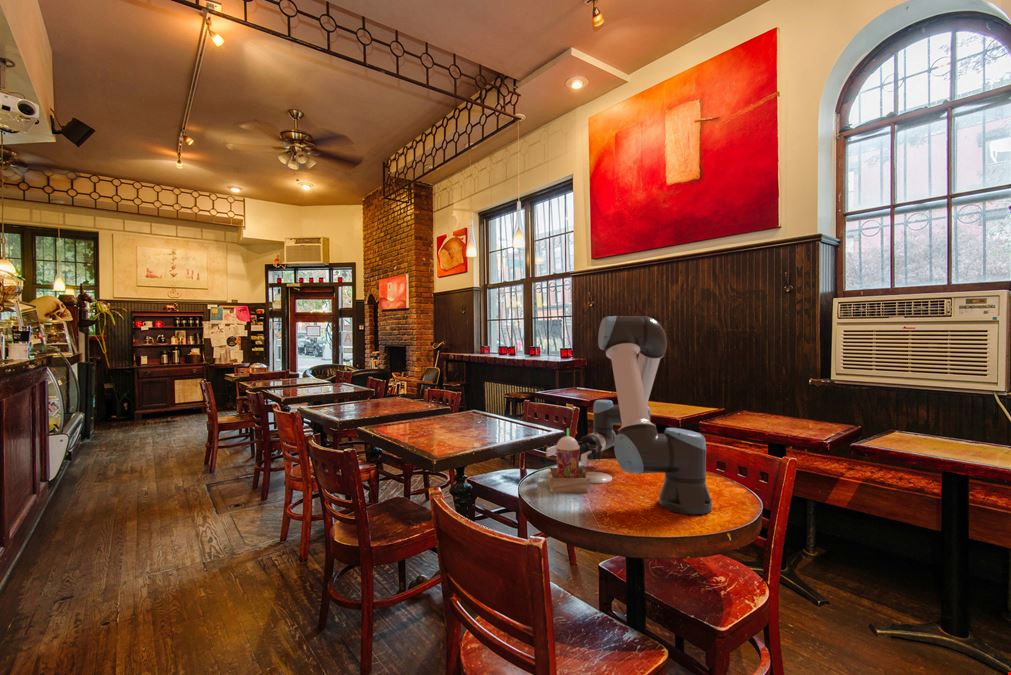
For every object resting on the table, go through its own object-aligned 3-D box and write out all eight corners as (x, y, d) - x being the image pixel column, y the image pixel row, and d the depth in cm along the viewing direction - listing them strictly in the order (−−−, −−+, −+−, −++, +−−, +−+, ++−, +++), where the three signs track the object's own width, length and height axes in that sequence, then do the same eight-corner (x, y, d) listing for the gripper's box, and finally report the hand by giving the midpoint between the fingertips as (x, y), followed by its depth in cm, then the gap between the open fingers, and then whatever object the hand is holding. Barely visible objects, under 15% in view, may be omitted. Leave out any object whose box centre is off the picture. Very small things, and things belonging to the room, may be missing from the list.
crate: (589, 492, 154) (589, 478, 154) (550, 491, 155) (550, 478, 155) (583, 480, 167) (583, 467, 167) (547, 479, 168) (547, 467, 168)
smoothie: (578, 482, 165) (578, 426, 165) (581, 489, 157) (581, 431, 157) (554, 482, 165) (554, 426, 165) (556, 489, 157) (556, 430, 157)
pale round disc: (615, 483, 163) (615, 481, 163) (581, 483, 164) (581, 481, 164) (608, 473, 175) (608, 471, 175) (576, 473, 176) (576, 471, 176)
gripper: (623, 459, 169) (597, 473, 152) (563, 449, 184) (533, 460, 167) (623, 438, 169) (597, 450, 152) (563, 430, 184) (533, 439, 167)
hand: (564, 455), depth 159 cm, fingers open, 13 cm apart
